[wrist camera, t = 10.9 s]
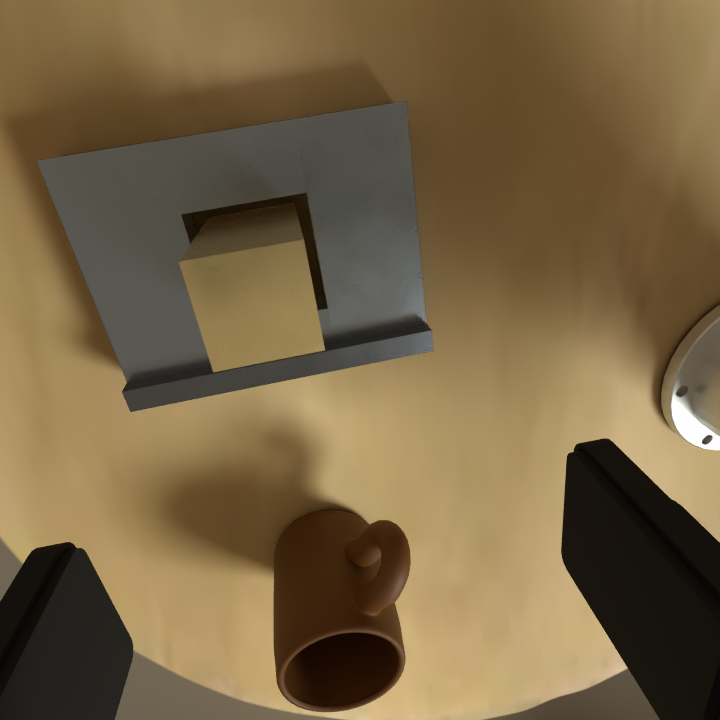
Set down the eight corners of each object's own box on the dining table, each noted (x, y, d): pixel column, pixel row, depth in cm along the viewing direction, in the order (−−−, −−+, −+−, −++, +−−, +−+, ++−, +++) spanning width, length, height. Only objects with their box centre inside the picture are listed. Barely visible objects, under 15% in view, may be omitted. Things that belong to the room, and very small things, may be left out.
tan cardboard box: (294, 202, 26) (304, 239, 18) (309, 283, 28) (325, 350, 20) (208, 217, 25) (178, 261, 17) (230, 298, 27) (213, 372, 19)
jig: (394, 102, 24) (412, 99, 21) (416, 326, 30) (433, 350, 27) (59, 156, 23) (25, 162, 20) (145, 379, 28) (130, 411, 25)
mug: (326, 442, 32) (345, 555, 24) (424, 473, 35) (472, 586, 26) (257, 571, 36) (252, 707, 28) (350, 591, 39) (371, 721, 30)
